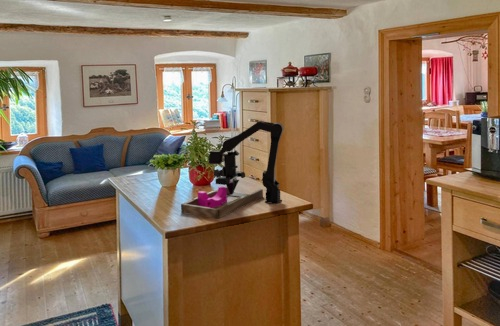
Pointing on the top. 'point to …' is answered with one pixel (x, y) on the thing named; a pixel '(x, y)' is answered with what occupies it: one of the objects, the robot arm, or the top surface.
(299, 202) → the top surface
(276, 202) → the robot arm
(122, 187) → the top surface
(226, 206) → the wooden tray
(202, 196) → the toy block
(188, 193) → the top surface
